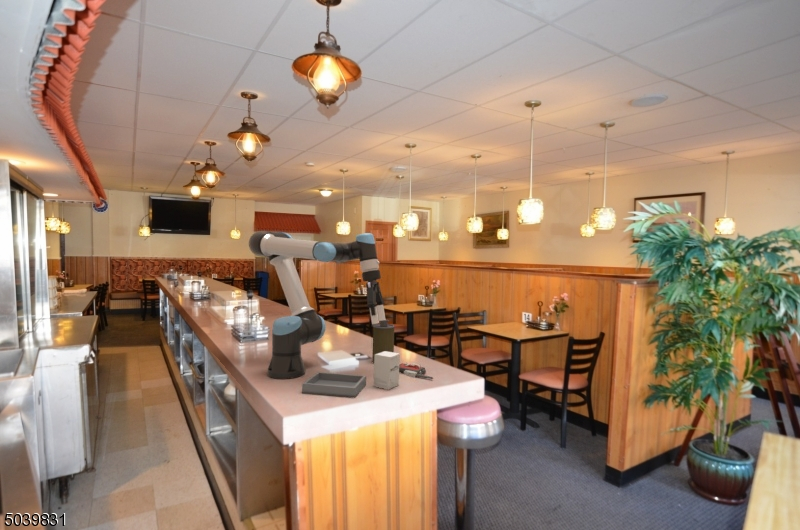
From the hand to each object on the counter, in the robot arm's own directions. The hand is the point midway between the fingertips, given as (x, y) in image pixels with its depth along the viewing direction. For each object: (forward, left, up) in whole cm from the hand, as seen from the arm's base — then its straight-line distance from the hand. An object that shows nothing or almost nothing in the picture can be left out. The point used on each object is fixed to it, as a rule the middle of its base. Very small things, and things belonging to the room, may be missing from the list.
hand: (379, 322), depth 167 cm
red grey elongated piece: (+14, +10, -24) cm, 30 cm away
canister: (-4, +25, -24) cm, 35 cm away
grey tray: (-13, -16, -23) cm, 31 cm away
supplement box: (+5, -8, -24) cm, 25 cm away
